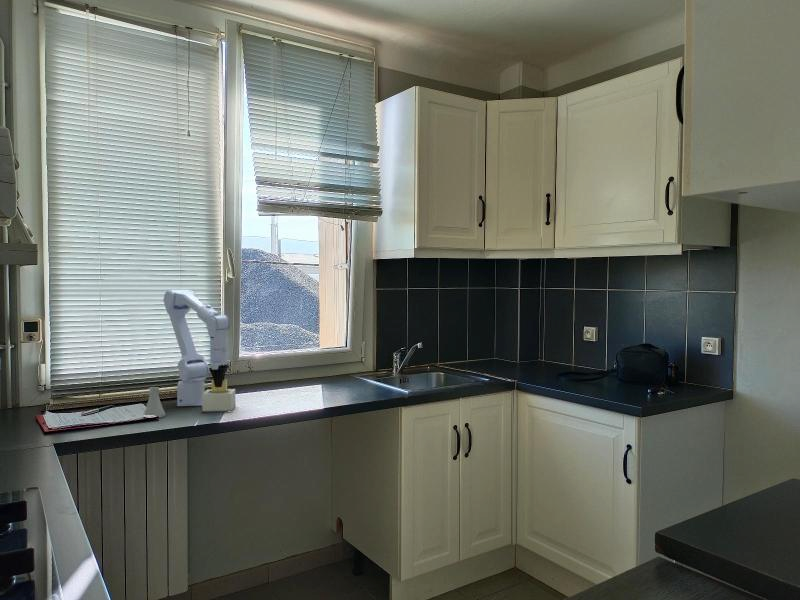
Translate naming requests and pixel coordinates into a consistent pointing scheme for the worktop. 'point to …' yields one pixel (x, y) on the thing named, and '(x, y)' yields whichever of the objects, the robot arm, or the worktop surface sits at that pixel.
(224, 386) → the block
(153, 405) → the flask
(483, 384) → the worktop surface
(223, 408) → the box
